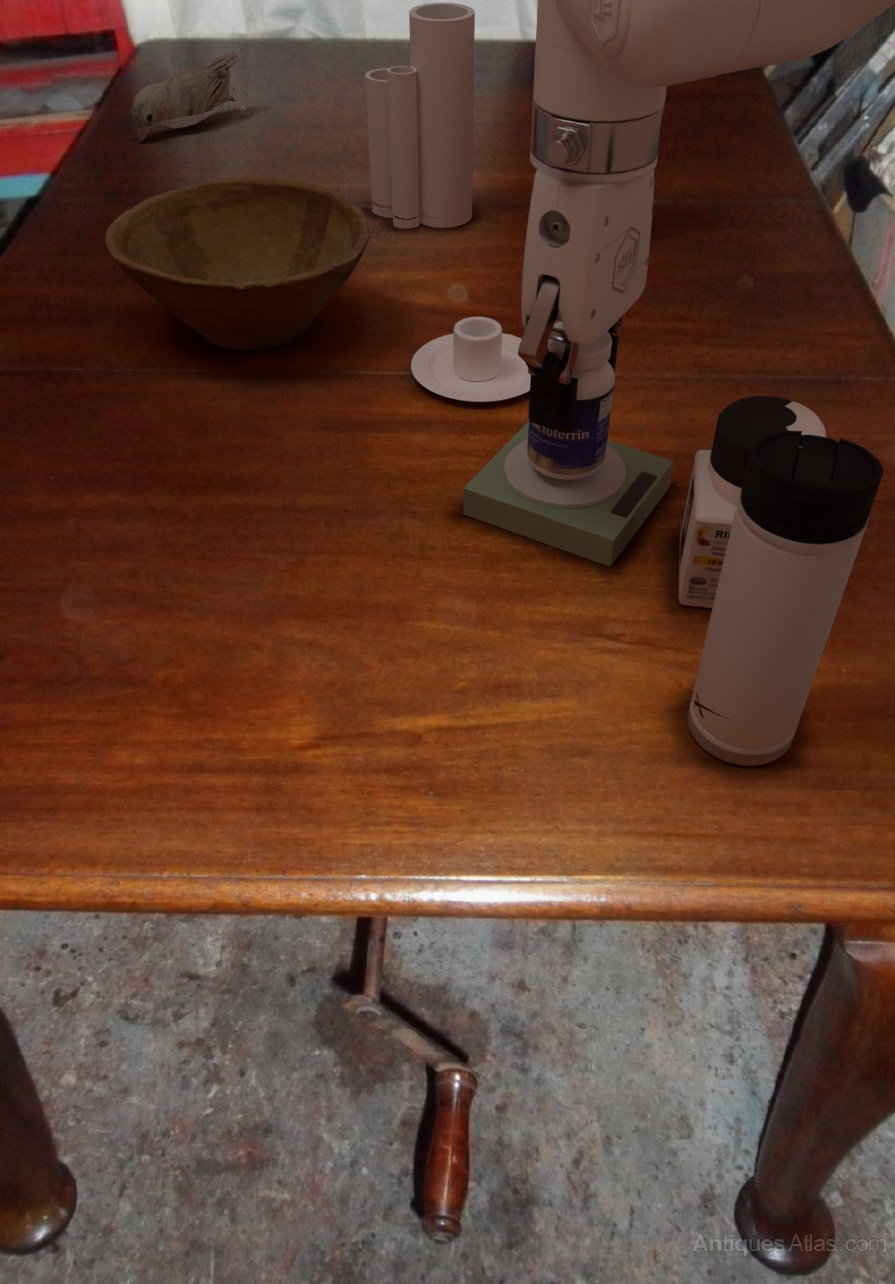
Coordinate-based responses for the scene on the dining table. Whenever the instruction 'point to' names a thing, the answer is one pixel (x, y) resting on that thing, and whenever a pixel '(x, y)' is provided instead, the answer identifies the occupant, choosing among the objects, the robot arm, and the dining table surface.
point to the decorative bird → (185, 93)
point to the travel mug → (779, 591)
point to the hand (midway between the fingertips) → (571, 401)
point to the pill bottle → (578, 417)
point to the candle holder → (473, 363)
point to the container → (727, 487)
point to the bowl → (241, 255)
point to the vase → (425, 122)
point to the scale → (570, 499)
